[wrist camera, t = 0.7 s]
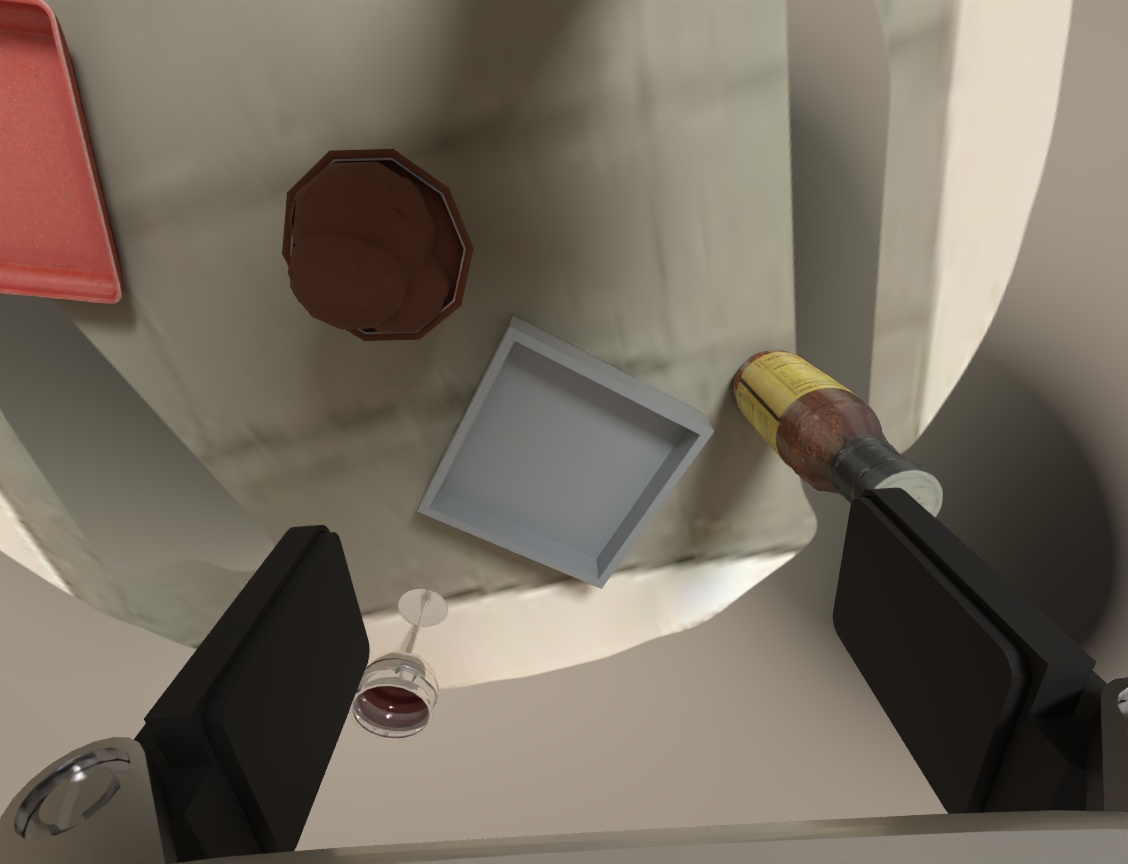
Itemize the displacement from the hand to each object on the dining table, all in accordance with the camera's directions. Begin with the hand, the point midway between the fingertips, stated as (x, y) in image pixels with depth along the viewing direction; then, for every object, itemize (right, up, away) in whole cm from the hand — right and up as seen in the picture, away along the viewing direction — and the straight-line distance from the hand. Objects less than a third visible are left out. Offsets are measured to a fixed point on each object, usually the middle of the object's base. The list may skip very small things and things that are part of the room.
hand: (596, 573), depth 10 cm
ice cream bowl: (-12, +17, +31) cm, 37 cm away
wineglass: (-15, -15, +46) cm, 51 cm away
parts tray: (-1, +1, +39) cm, 39 cm away
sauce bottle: (+16, +7, +36) cm, 40 cm away
